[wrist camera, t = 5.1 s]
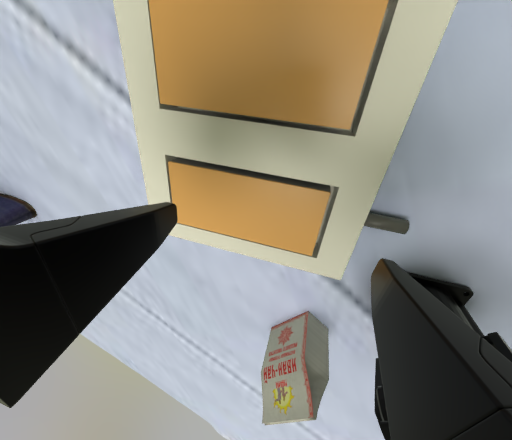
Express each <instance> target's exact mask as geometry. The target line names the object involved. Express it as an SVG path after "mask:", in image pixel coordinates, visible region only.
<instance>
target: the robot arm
mask: <svg viewBox="0 0 512 440" xmlns="http://www.w3.org/2000/svg"><path fill="white" fill-rule="evenodd" d="M177 220H178V218H177V206H176V205H175V204H174V203H170V202H163V203H157V204H151V205H145V206H139V207H133V208H127V209H120V210H114V211H108V212H102V213H96V214H90V215H84V216H82V217H81V216H77V217H71V218H65V219H58V220H51V221H44V222H36V223H28V224H20V225H12V226H5V227H0V403H2V404H3V405H5V406H7V407H9V408H11V407H12V406H14V405H15V404H16V403H17V402H18V401H19V400H20V399H21V398H22V396H23V395H24V394H25V393H26V392H27V391H28V390H29V389H30V388H31V387H32V385H33V384H34V383H35V382H36V381H37V380H38V379H39V378H40V377H41V376H42V375H43V373H44V372H45V371H46V370H47V369H48V368H49V367H50V366H51V365H52V364H53V363H54V362H55V361H56V359H57V358H58V357H59V356H60V355H61V354H62V353H63V352H64V351H65V350H66V349H67V347H68V346H69V345H70V344H71V343H72V342H73V341H74V340H75V339H76V338H77V336H78V335H79V334H80V333H81V332H82V331H83V330H84V329H85V328H86V327H87V325H88V324H89V323H90V322H91V321H92V320H93V319H94V318H95V317H96V316H97V315H98V313H99V312H100V311H101V310H102V309H103V308H104V307H105V306H106V305H107V304H108V303H109V301H110V300H111V299H112V298H113V297H114V296H115V295H116V294H117V293H118V292H119V291H120V290H121V288H122V287H123V286H124V285H125V284H126V283H127V282H128V281H129V280H130V279H131V278H132V276H133V275H134V274H135V273H136V272H137V271H138V270H139V269H140V268H141V267H142V266H143V264H144V263H145V262H146V261H147V260H148V259H149V258H150V257H151V256H152V255H153V254H154V253H155V251H156V250H157V249H158V248H159V247H160V245H161V244H162V243H163V242H164V240H165V239H166V237H167V236H168V235H169V233H170V232H171V231H172V229H173V228H174V227H175V225H176V224H177ZM464 292H466V293H464ZM472 296H473V292H472V290H471V289H470V288H468V287H465V286H461V285H457V284H453V283H449V282H444V281H440V280H436V279H432V278H428V277H424V276H420V275H416V274H412V273H407V272H405V271H404V270H403V269H402V268H401V267H399V266H398V265H397V264H396V263H395V262H394V261H391V260H387V259H383V258H382V259H380V260H379V262H378V264H377V265H376V267H375V269H374V271H373V273H372V276H371V304H372V318H373V325H374V332H375V338H376V345H377V351H378V358H376V373H375V414H376V417H377V419H378V422H379V425H380V428H381V431H382V433H383V436H384V438H385V440H512V350H511V348H510V347H509V346H508V345H507V344H506V342H505V341H504V340H503V339H502V338H501V336H500V335H499V334H498V333H497V332H494V333H490V334H488V336H484V335H483V333H482V332H481V330H480V329H479V327H478V326H477V324H476V323H475V321H474V320H473V318H472V317H471V315H470V314H469V312H468V311H467V309H466V308H465V306H464V305H465V304H466V302H467V301H468V300H469V299H470V298H471V297H472Z"/></svg>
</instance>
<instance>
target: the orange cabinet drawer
mask: <svg viewBox="0 0 512 440" xmlns="http://www.w3.org/2000/svg"><path fill="white" fill-rule="evenodd" d="M168 167H169V176H170V185H171V194H172V203H174V204H175V205H176V206H177V218H178V220H177V223H180V224H184V225H188V226H192V227H196V228H200V229H204V230H209V231H213V232H217V233H221V234H225V235H229V236H233V237H237V238H241V239H245V240H249V241H253V242H257V243H261V244H265V245H269V246H273V247H277V248H281V249H285V250H289V251H293V252H297V253H301V254H305V255H309V256H312V254H313V250H314V247H315V244H316V240H317V237H318V233H319V230H320V227H321V223H322V220H323V217H324V213H325V210H326V207H327V203H328V200H329V197H330V193H331V191H330V185H325V184H319V183H314V182H309V181H303V180H298V179H293V178H287V177H282V176H277V175H271V174H266V173H261V172H255V171H250V170H245V169H239V168H234V167H228V166H223V165H218V164H212V163H207V162H202V161H196V160H191V159H186V158H180V157H178V158H176V159H173V160H171V161H168Z"/></svg>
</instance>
